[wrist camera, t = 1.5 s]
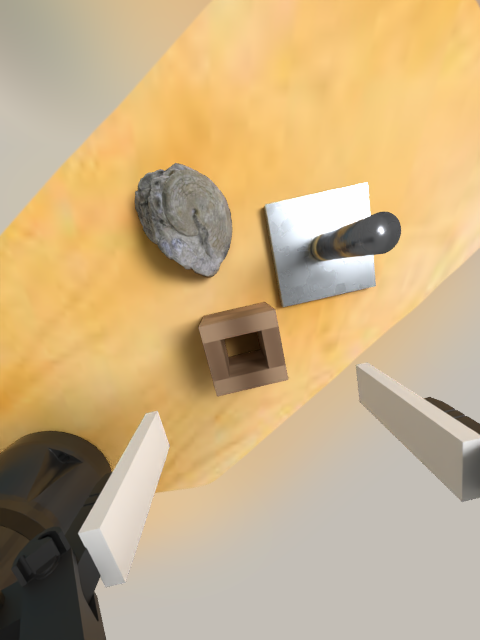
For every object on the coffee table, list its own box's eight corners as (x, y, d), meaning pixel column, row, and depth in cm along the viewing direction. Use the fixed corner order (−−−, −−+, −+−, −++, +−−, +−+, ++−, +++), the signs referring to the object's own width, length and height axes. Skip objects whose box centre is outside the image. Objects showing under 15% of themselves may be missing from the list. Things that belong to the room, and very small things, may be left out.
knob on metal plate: (281, 306, 29) (315, 326, 18) (263, 207, 26) (291, 161, 15) (370, 285, 29) (457, 293, 18) (362, 185, 26) (458, 125, 15)
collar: (218, 372, 30) (217, 396, 24) (203, 315, 28) (198, 327, 22) (275, 358, 30) (288, 379, 24) (264, 301, 28) (275, 309, 22)
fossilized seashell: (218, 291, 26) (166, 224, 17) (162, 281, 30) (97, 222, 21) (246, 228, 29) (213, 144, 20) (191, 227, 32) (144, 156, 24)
